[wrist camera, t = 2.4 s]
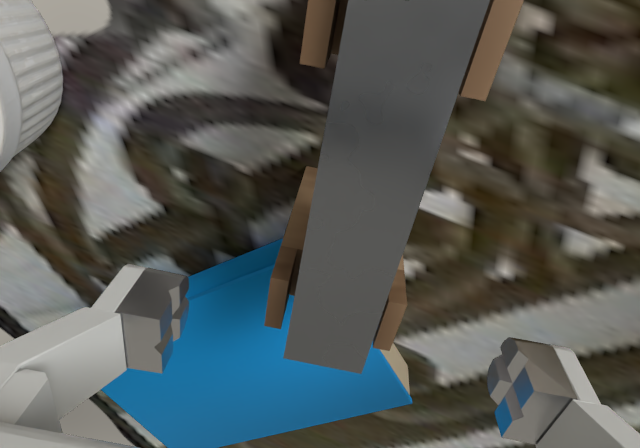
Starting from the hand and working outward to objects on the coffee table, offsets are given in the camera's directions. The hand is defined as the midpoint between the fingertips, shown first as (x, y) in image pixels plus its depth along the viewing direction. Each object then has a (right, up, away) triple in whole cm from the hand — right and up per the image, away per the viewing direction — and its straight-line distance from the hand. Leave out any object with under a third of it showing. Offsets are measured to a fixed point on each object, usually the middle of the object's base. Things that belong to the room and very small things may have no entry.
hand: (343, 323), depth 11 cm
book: (-8, -8, +28) cm, 30 cm away
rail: (+1, +5, +7) cm, 9 cm away
